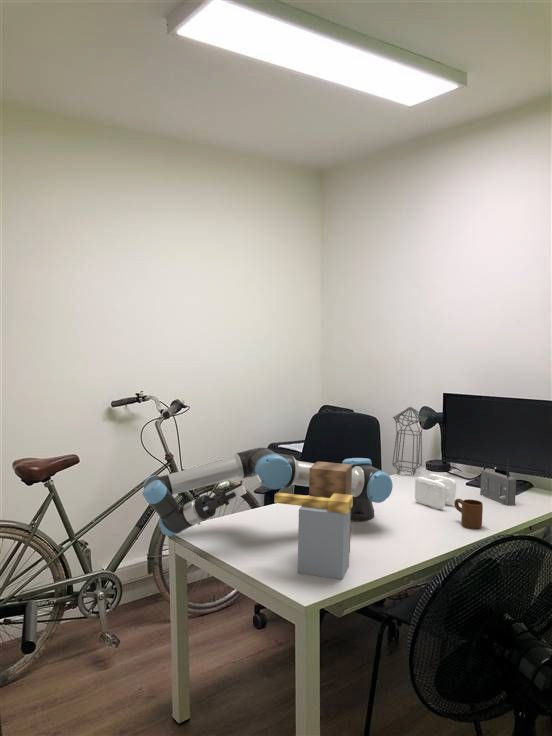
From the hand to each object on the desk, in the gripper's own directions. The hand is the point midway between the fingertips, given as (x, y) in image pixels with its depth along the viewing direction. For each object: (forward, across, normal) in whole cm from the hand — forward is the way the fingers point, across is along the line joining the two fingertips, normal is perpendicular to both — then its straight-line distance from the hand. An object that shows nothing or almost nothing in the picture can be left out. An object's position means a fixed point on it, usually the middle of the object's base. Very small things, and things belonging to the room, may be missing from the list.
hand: (252, 483), depth 187 cm
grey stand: (+8, 0, -34) cm, 35 cm away
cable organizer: (+34, -82, -49) cm, 101 cm away
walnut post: (+8, -12, -33) cm, 36 cm away
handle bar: (+15, 0, -14) cm, 21 cm away
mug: (+45, -60, -55) cm, 93 cm away
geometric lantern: (+20, -132, -41) cm, 140 cm away
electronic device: (+55, -99, -61) cm, 128 cm away
